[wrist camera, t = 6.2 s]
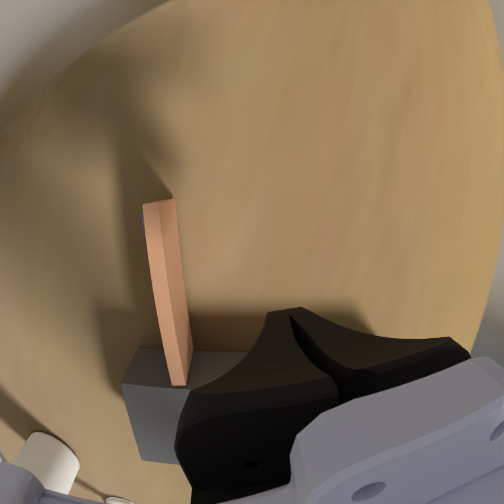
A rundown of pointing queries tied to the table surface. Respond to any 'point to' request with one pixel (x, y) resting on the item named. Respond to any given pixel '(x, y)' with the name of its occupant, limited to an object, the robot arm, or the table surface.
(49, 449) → the can
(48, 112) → the table surface
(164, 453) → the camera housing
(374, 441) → the robot arm
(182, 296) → the side door
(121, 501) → the chess piece
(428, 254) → the table surface
